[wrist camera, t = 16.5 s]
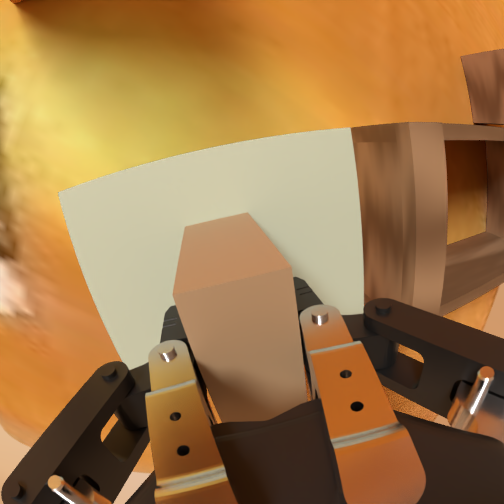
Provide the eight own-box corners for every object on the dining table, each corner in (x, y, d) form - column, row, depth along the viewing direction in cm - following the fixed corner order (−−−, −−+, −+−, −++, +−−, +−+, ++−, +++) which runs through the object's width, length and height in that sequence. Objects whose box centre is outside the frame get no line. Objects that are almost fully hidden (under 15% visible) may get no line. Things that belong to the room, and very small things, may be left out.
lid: (351, 321, 19) (422, 407, 11) (141, 372, 18) (125, 482, 10) (335, 129, 15) (451, 120, 7) (71, 187, 13) (-34, 228, 5)
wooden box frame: (489, 237, 27) (545, 263, 18) (346, 287, 24) (407, 346, 16) (476, 61, 19) (537, 54, 11) (310, 34, 17) (370, -19, 9)
